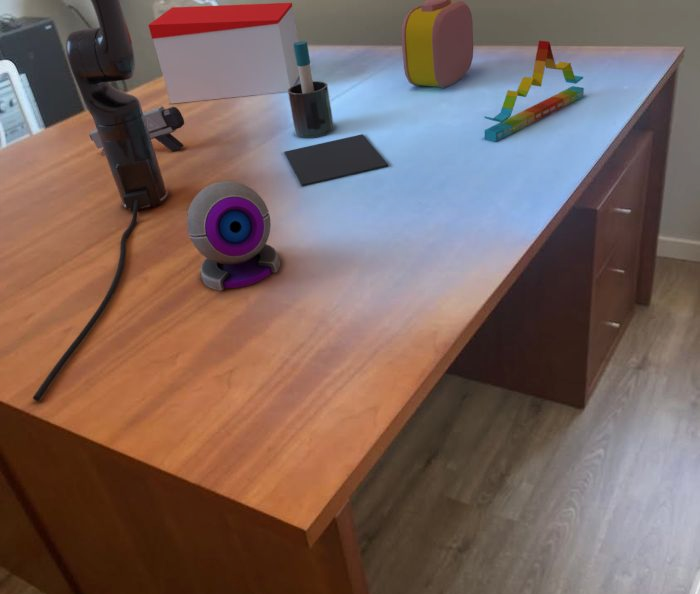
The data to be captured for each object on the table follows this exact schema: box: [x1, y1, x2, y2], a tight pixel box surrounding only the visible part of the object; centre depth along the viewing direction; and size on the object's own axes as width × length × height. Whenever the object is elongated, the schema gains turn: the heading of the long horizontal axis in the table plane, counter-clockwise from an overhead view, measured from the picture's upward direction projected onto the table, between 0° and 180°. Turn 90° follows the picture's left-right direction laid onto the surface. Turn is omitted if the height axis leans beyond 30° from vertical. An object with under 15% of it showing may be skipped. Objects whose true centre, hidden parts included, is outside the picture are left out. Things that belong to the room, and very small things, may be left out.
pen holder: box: [287, 80, 335, 139], centre depth 166 cm, size 9×9×10 cm
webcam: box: [186, 180, 281, 291], centre depth 115 cm, size 13×13×15 cm
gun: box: [89, 105, 185, 155], centre depth 171 cm, size 2×25×10 cm, turn 77°
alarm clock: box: [400, 0, 474, 89], centre depth 181 cm, size 18×11×19 cm, turn 144°
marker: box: [293, 40, 314, 94], centre depth 163 cm, size 3×3×19 cm
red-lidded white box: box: [147, 2, 300, 105], centre depth 202 cm, size 21×35×21 cm, turn 83°
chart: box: [483, 40, 585, 142], centre depth 153 cm, size 30×3×15 cm, turn 131°
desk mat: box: [284, 133, 389, 187], centre depth 153 cm, size 20×18×1 cm
